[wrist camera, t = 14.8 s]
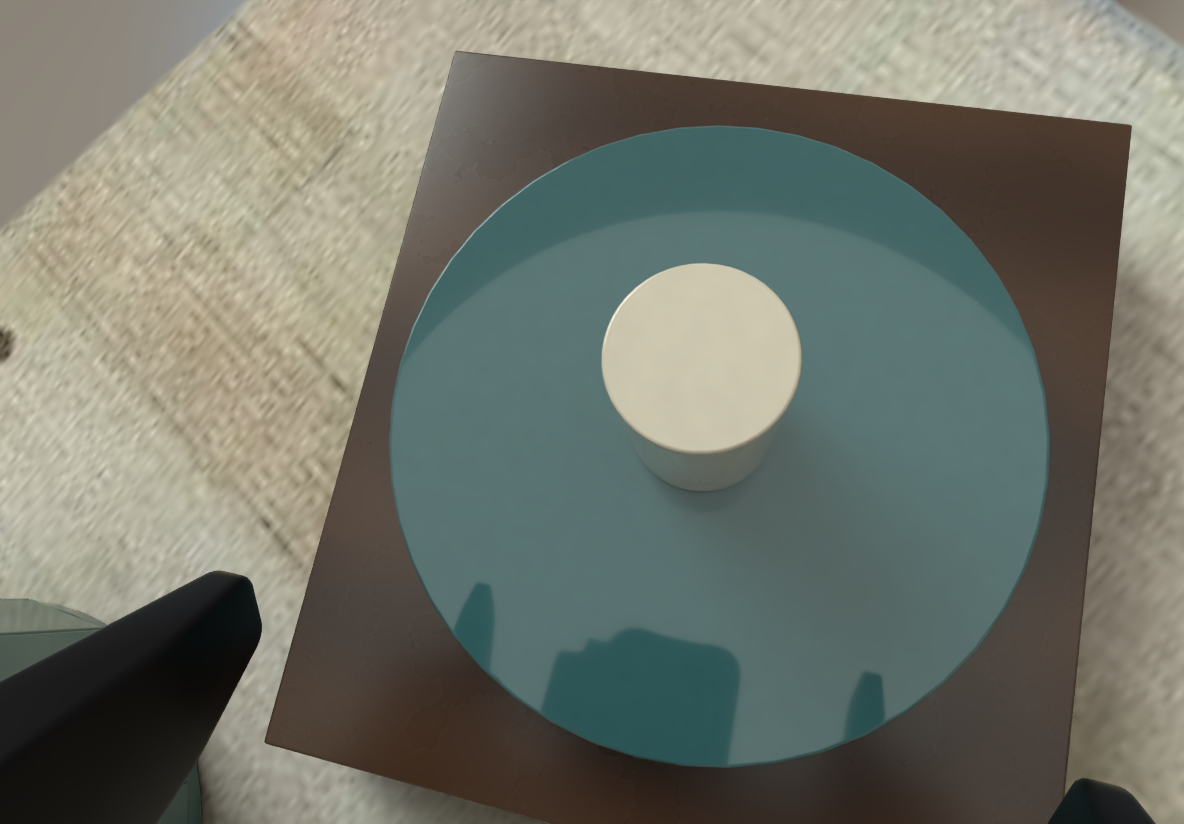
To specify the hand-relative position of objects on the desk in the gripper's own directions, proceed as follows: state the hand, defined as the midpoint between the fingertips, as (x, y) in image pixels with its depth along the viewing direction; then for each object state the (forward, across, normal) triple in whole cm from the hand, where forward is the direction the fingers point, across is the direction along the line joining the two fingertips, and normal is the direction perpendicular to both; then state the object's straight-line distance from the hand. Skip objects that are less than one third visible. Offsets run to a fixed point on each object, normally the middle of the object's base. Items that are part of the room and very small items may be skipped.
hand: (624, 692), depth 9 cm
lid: (+7, 0, +1) cm, 7 cm away
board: (+10, 0, +4) cm, 10 cm away
